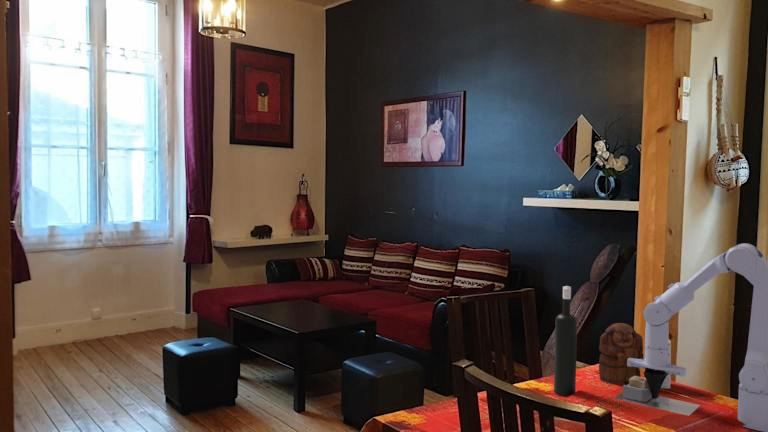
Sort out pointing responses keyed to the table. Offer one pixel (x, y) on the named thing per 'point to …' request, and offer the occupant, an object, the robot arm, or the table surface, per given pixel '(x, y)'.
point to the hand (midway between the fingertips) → (655, 397)
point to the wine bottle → (565, 348)
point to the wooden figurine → (619, 354)
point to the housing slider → (637, 393)
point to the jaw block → (638, 382)
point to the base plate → (664, 404)
